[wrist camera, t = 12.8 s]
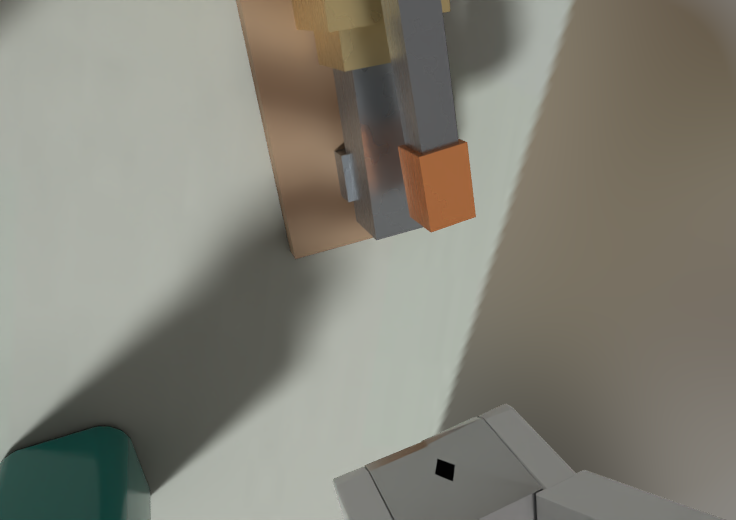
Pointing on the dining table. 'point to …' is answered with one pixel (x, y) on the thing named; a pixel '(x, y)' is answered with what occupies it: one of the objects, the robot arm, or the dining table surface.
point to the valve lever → (427, 115)
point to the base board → (299, 127)
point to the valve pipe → (363, 108)
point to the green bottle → (75, 479)
